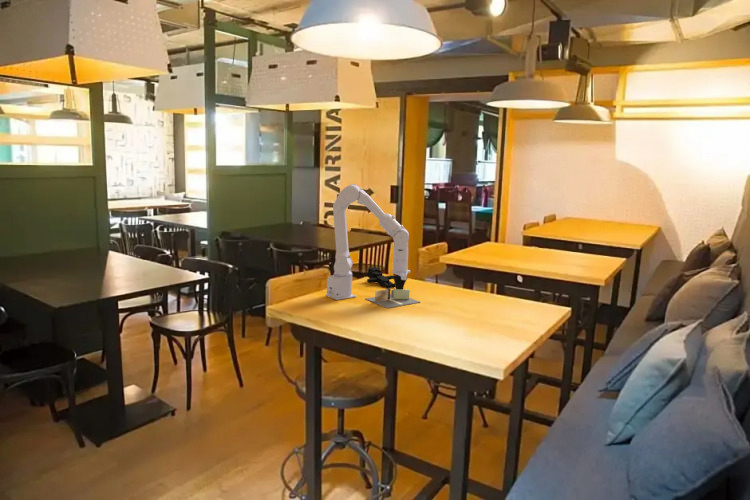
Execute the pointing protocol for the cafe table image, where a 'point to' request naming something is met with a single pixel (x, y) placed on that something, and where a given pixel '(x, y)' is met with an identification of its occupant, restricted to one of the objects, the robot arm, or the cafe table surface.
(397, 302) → the card
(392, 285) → the toy
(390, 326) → the cafe table surface
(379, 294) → the block
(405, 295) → the fence panel
